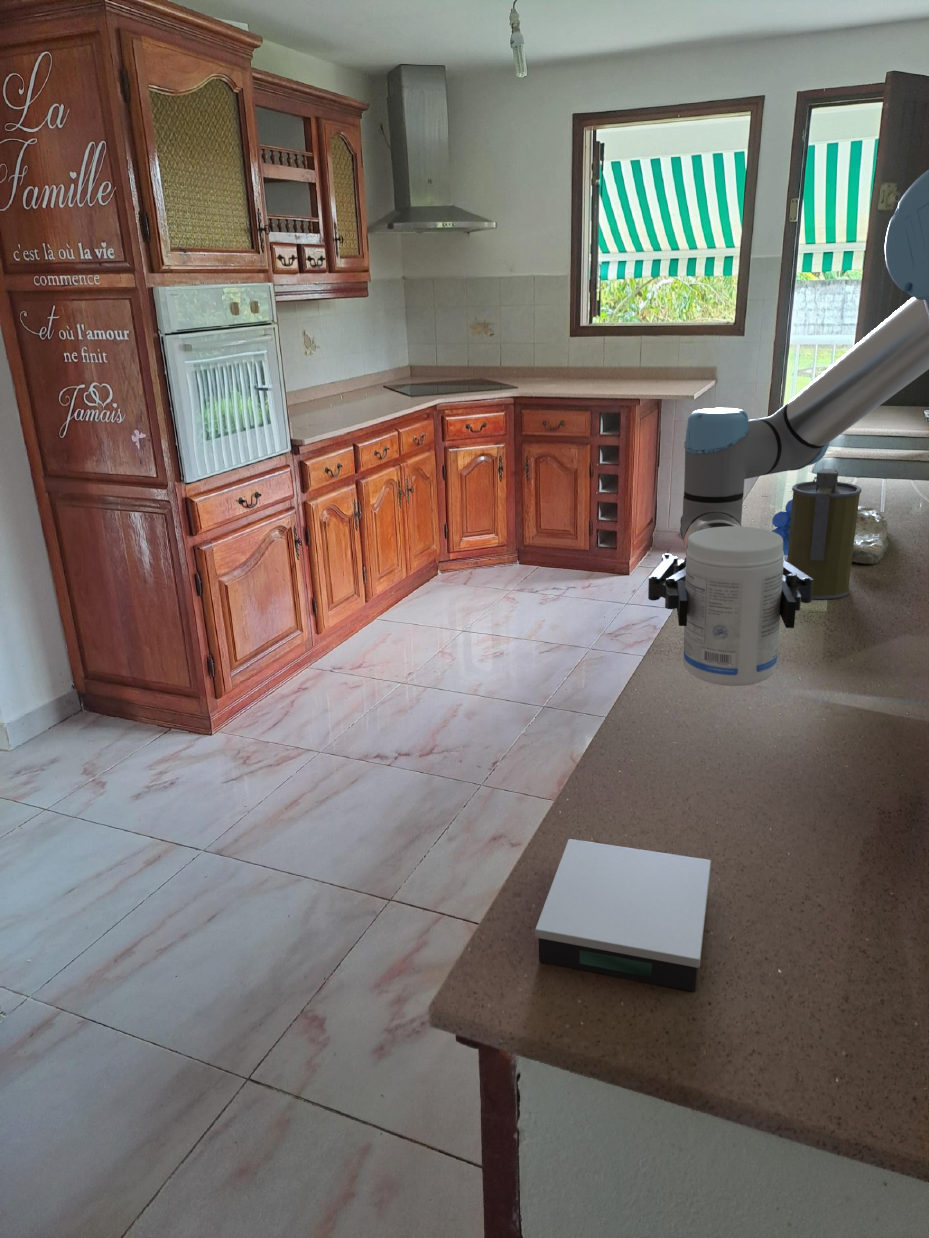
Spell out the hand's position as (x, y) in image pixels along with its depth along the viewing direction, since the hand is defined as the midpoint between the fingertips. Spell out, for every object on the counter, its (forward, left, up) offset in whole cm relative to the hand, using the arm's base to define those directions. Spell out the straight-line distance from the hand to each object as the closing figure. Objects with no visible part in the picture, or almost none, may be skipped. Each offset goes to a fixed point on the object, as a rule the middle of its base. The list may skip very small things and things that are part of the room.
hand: (736, 614), depth 87 cm
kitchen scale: (+7, +26, -19) cm, 32 cm away
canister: (-11, -65, -19) cm, 69 cm away
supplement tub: (+1, -4, -8) cm, 9 cm away
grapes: (-9, -85, -19) cm, 88 cm away
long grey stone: (-21, -98, -19) cm, 102 cm away
